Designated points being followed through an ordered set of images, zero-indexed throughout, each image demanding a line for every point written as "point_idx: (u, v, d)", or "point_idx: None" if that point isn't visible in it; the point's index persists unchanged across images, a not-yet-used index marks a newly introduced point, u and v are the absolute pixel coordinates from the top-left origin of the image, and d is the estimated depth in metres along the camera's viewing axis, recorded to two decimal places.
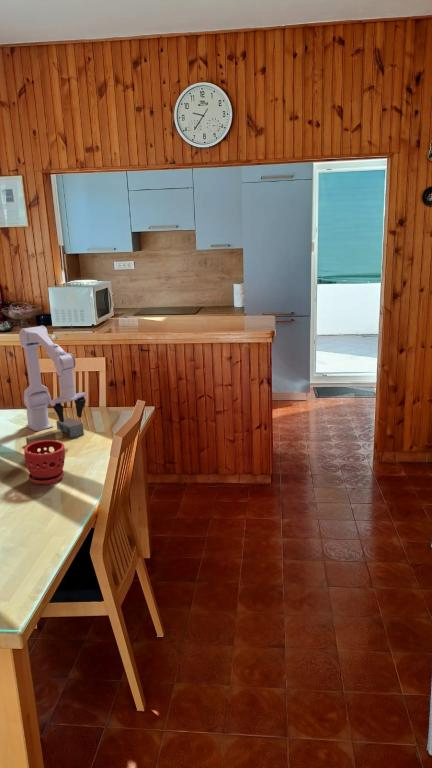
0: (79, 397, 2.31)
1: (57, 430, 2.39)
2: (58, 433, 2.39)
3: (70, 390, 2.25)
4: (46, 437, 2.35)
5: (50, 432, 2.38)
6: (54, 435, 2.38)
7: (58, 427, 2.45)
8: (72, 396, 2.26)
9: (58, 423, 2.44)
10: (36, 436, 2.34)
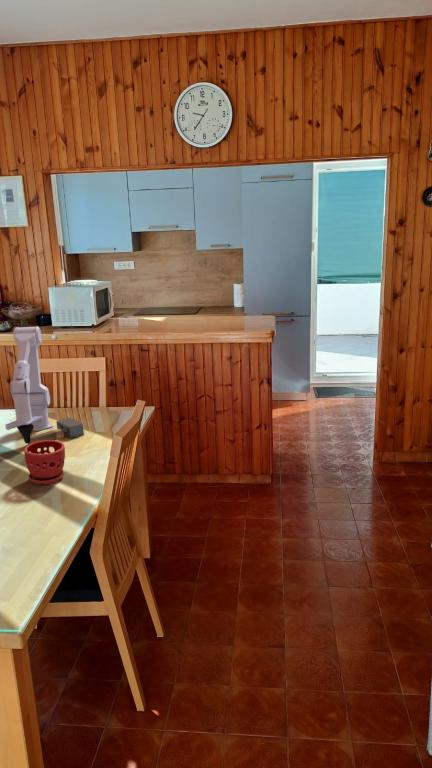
0: (36, 420, 2.32)
1: (58, 430, 2.40)
2: (59, 432, 2.39)
3: (26, 414, 2.26)
4: (47, 437, 2.36)
5: (51, 431, 2.38)
6: (55, 434, 2.38)
7: (58, 427, 2.45)
8: (28, 420, 2.27)
9: (58, 423, 2.44)
10: (37, 435, 2.34)
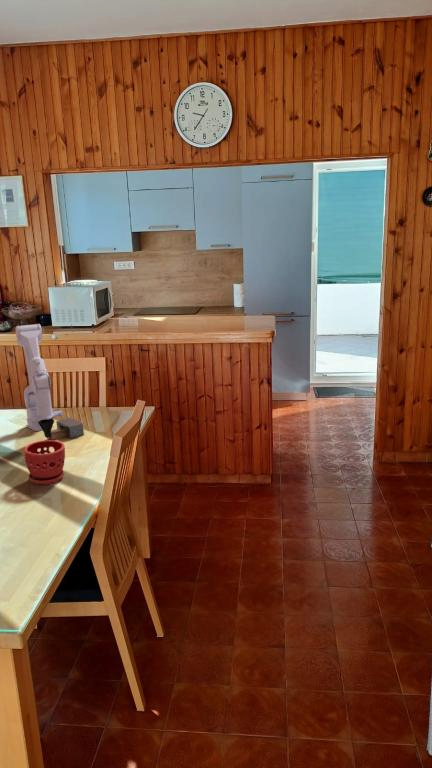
0: (56, 415, 2.38)
1: None
2: None
3: (47, 409, 2.32)
4: None
5: None
6: None
7: (58, 427, 2.45)
8: (48, 415, 2.33)
9: (58, 423, 2.44)
10: (57, 430, 2.40)
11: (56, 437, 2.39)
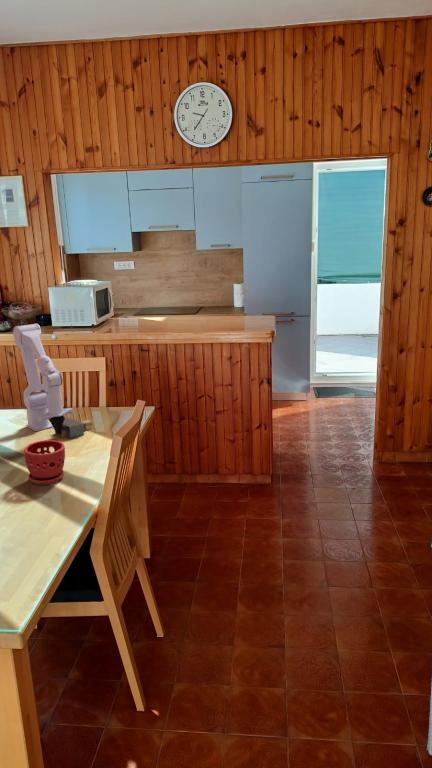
0: None
1: (87, 421, 2.49)
2: (88, 424, 2.48)
3: (58, 406, 2.35)
4: None
5: None
6: (85, 426, 2.47)
7: None
8: (59, 412, 2.36)
9: None
10: None
11: (66, 434, 2.42)
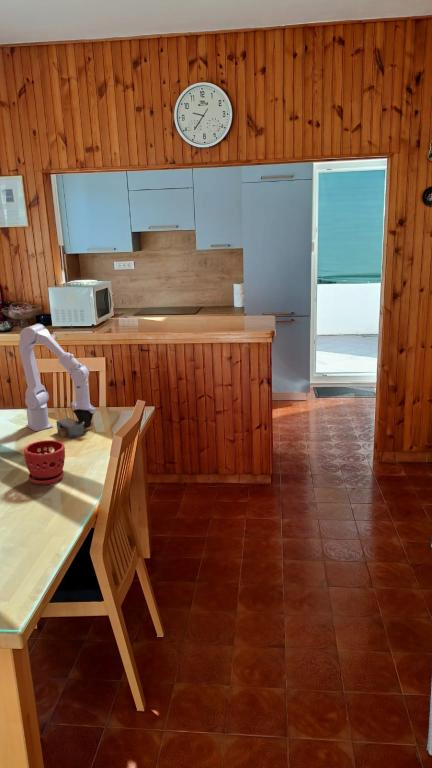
0: (89, 410, 2.43)
1: None
2: None
3: (76, 399, 2.43)
4: None
5: None
6: None
7: (58, 427, 2.45)
8: (77, 405, 2.44)
9: (58, 423, 2.44)
10: None
11: None
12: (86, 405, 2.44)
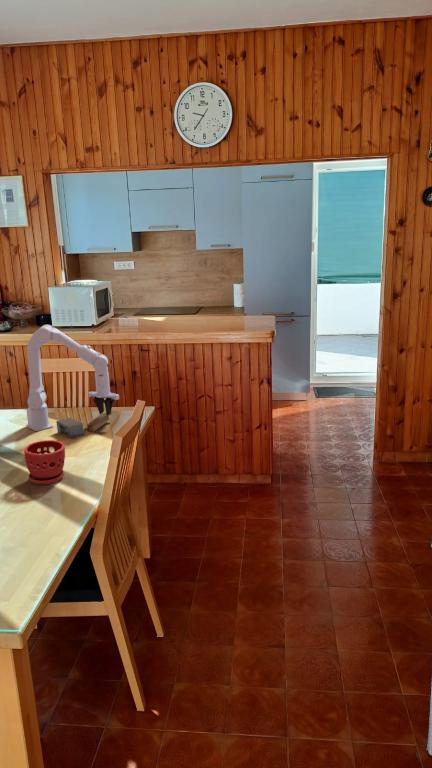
0: (112, 397, 2.50)
1: None
2: None
3: (98, 388, 2.48)
4: (102, 420, 2.50)
5: (103, 414, 2.53)
6: (107, 416, 2.53)
7: (58, 427, 2.45)
8: (99, 394, 2.49)
9: (58, 423, 2.44)
10: (95, 421, 2.48)
11: (96, 428, 2.47)
12: (108, 393, 2.50)
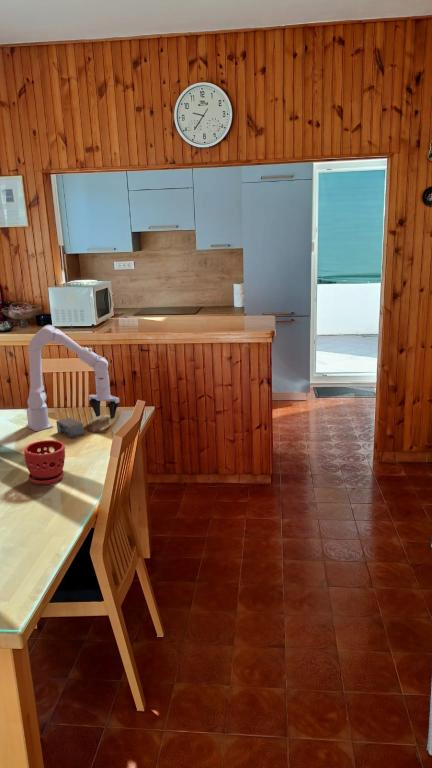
0: (112, 400, 2.50)
1: (108, 415, 2.56)
2: (110, 418, 2.55)
3: (98, 391, 2.49)
4: (103, 422, 2.51)
5: (104, 417, 2.53)
6: (108, 420, 2.54)
7: (58, 427, 2.45)
8: (100, 397, 2.49)
9: (58, 423, 2.44)
10: (95, 422, 2.48)
11: (96, 429, 2.47)
12: (108, 396, 2.50)
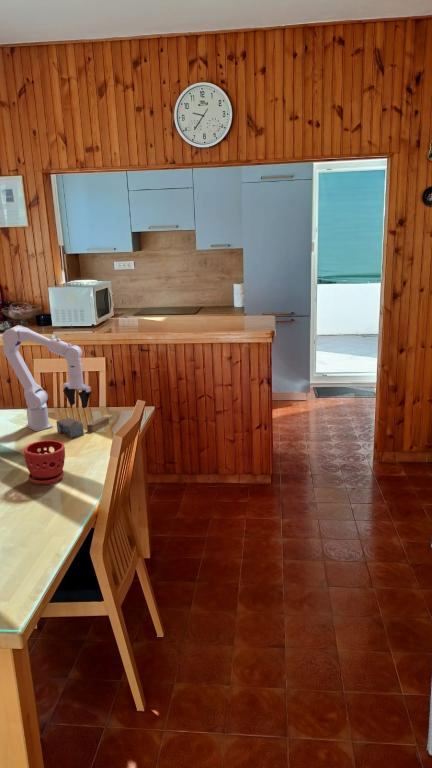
0: (84, 389, 2.44)
1: (108, 415, 2.56)
2: (110, 418, 2.55)
3: (70, 379, 2.44)
4: (103, 422, 2.51)
5: (104, 417, 2.53)
6: (108, 420, 2.54)
7: (58, 427, 2.45)
8: (71, 385, 2.44)
9: (58, 423, 2.44)
10: (95, 422, 2.48)
11: (96, 429, 2.47)
12: (80, 384, 2.45)
